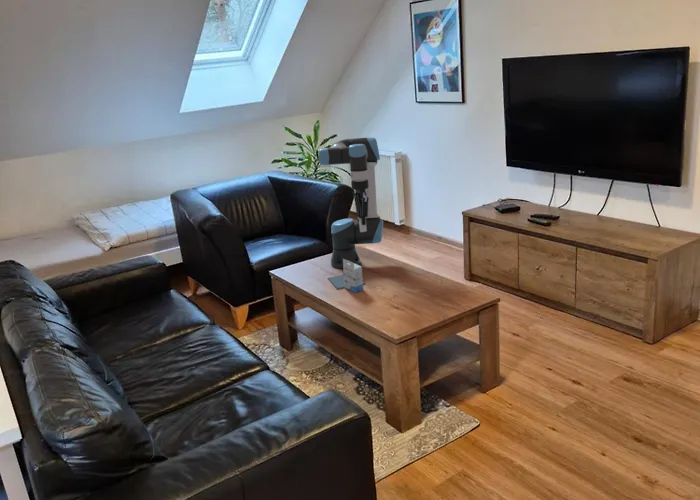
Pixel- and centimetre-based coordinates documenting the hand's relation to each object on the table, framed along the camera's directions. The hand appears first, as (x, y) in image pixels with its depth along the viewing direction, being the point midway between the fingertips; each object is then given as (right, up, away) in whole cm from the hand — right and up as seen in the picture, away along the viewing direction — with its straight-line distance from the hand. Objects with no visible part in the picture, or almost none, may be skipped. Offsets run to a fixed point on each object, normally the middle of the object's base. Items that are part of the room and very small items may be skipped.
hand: (363, 231), depth 287 cm
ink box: (-4, -27, +11) cm, 29 cm away
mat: (-8, -24, +21) cm, 32 cm away
